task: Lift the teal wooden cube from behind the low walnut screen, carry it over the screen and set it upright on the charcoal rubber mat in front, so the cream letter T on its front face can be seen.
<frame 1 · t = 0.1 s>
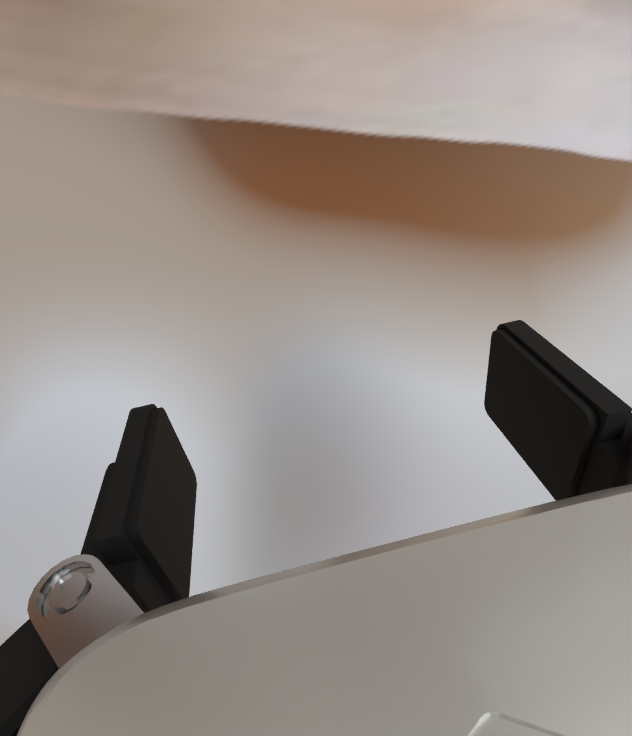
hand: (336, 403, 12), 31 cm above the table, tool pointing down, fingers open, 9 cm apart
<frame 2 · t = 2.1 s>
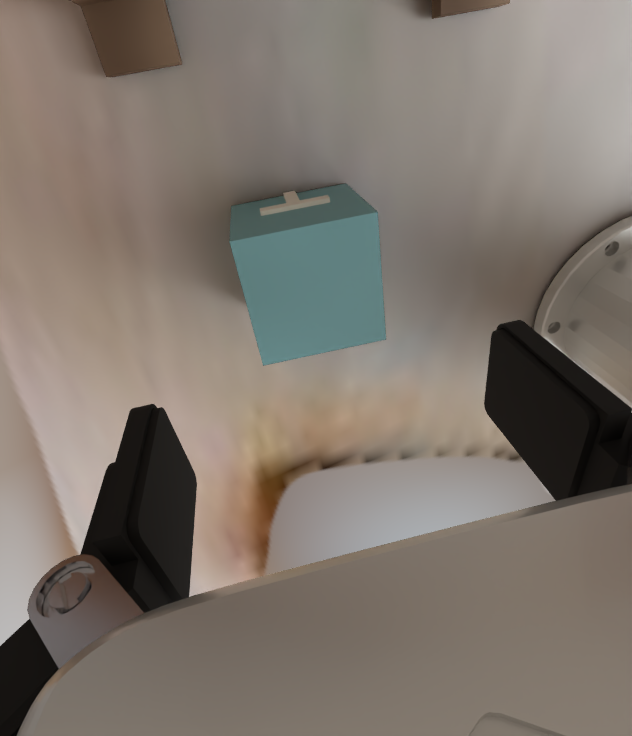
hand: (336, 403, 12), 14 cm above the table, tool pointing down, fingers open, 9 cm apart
letter cube: (299, 251, 23), on the table
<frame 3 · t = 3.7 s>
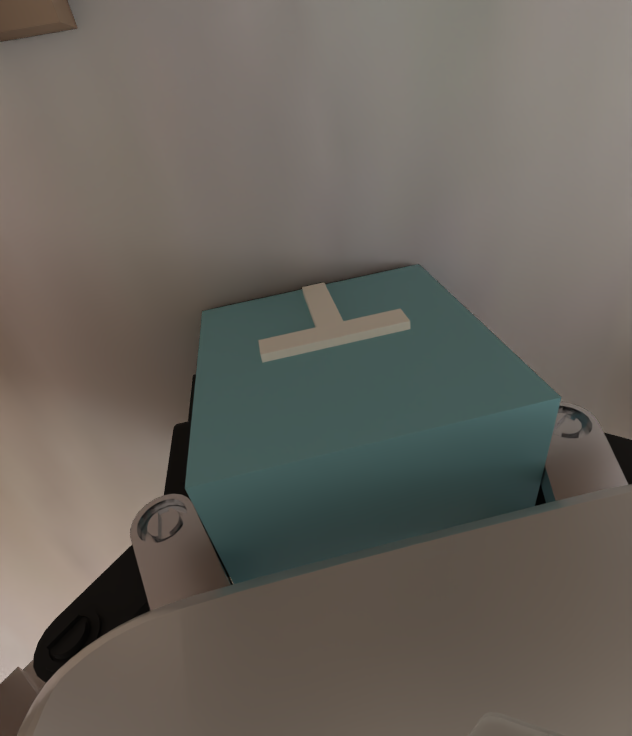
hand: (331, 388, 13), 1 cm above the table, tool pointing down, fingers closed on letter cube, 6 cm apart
letter cube: (327, 375, 13), on the table, touching gripper
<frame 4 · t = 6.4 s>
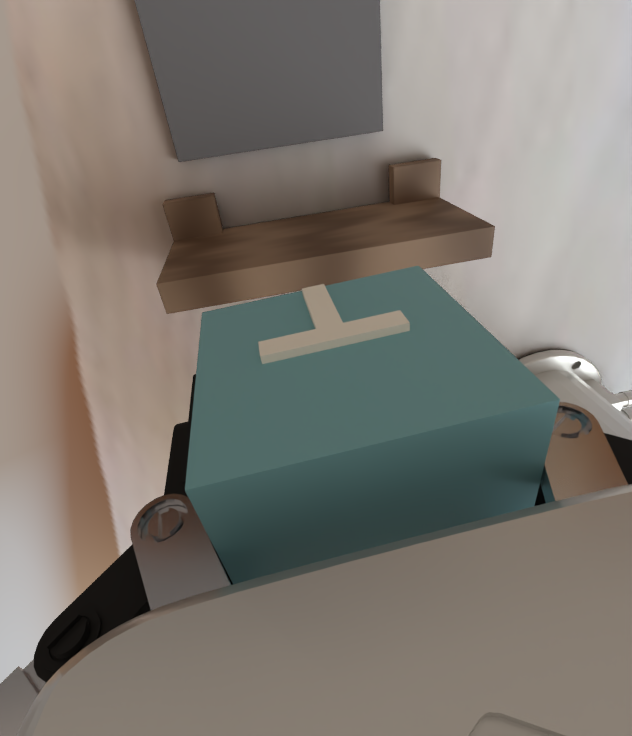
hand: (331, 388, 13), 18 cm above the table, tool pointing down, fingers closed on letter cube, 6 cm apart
mat: (266, 38, 22), on the table
letter cube: (326, 376, 13), point 17 cm above the table, touching gripper
screen: (308, 227, 28), on the table
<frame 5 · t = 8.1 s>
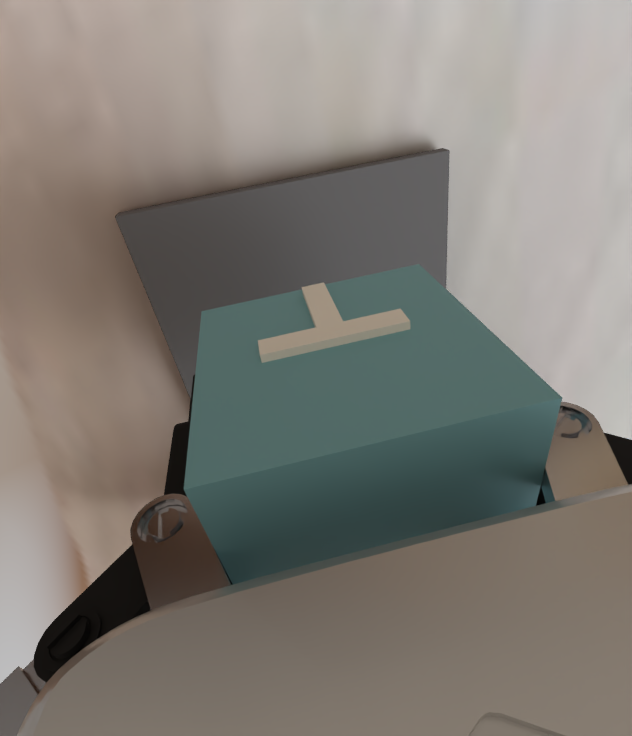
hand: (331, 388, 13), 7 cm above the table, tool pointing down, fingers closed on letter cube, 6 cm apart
mat: (306, 303, 18), on the table
letter cube: (326, 375, 13), point 6 cm above the table, touching gripper
when the fingers open (3 cm above the table, at t = 9.3 s): letter cube drops 1 cm, resting on mat.
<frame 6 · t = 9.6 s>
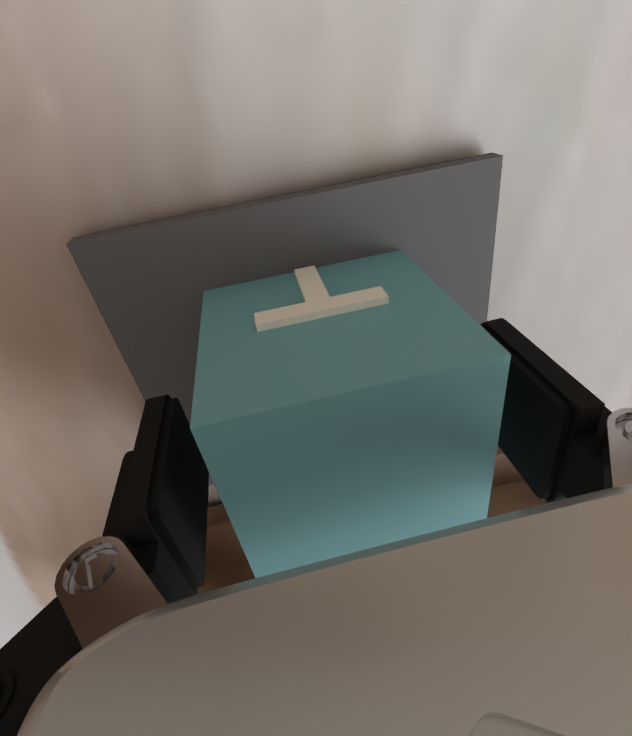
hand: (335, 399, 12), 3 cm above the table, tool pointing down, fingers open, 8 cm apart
mat: (315, 343, 15), on the table
letter cube: (318, 353, 14), point 1 cm above the table, touching mat
screen: (366, 510, 21), on the table
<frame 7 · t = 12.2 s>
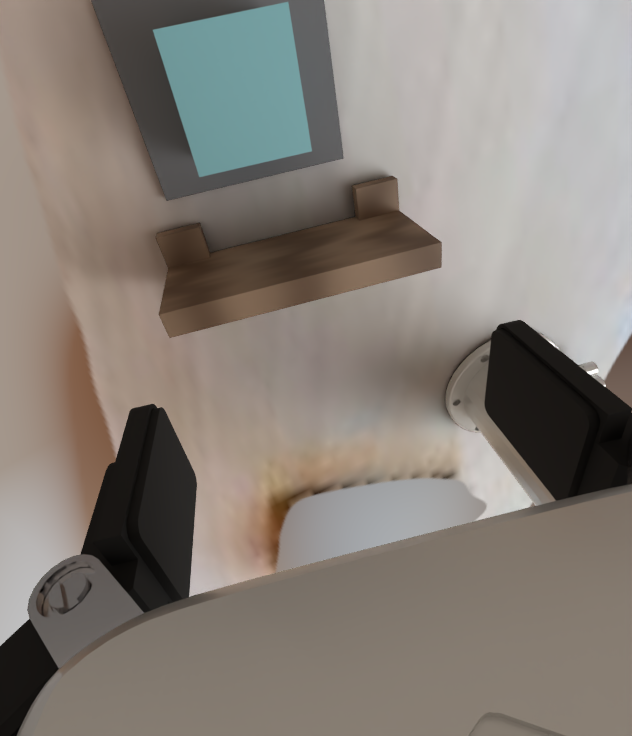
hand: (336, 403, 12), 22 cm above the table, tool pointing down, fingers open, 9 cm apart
mat: (233, 89, 25), on the table
letter cube: (234, 91, 25), point 1 cm above the table, touching mat
screen: (286, 245, 31), on the table
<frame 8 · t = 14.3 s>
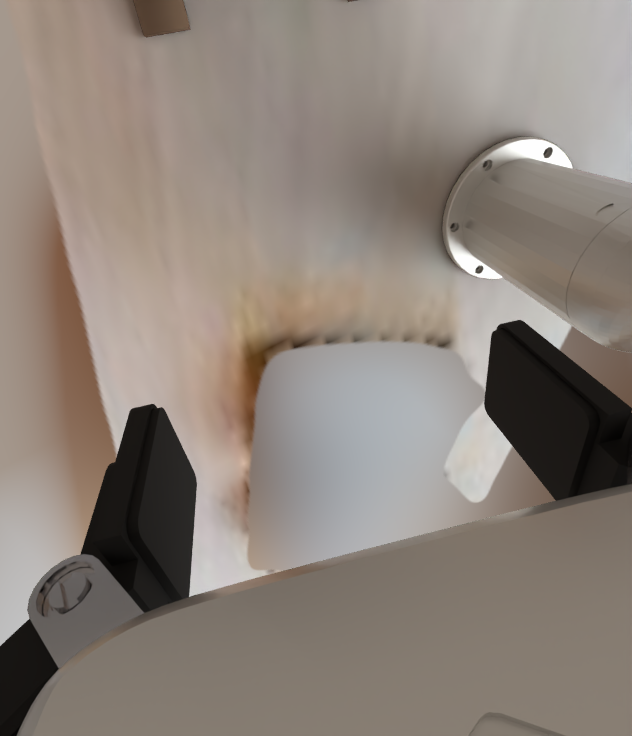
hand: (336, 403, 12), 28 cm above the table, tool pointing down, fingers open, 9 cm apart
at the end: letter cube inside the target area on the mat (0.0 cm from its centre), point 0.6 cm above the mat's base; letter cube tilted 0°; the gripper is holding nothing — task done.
